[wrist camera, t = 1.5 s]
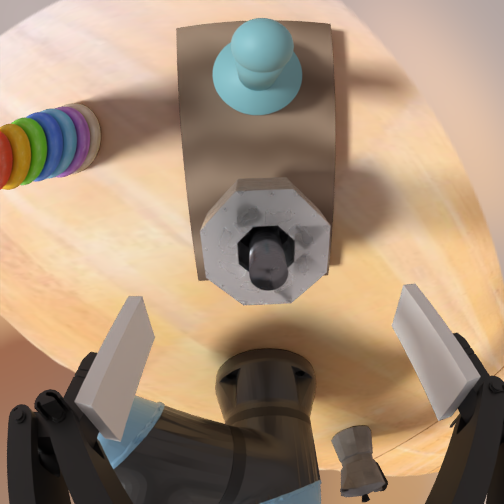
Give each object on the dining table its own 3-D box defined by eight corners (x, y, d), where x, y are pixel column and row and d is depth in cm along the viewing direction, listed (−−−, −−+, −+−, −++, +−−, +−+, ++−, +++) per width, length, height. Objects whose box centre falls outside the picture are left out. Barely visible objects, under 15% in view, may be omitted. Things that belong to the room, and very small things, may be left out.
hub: (297, 115, 23) (345, 112, 11) (218, 117, 23) (186, 115, 11) (294, 43, 20) (335, -18, 8) (215, 46, 20) (183, -16, 8)
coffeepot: (316, 440, 52) (326, 510, 36) (346, 421, 48) (363, 496, 32) (360, 446, 56) (373, 505, 40) (388, 428, 52) (407, 490, 36)
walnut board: (324, 266, 32) (328, 275, 31) (201, 271, 33) (198, 280, 31) (325, 29, 21) (330, 24, 19) (181, 33, 21) (176, 28, 19)
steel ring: (314, 275, 26) (323, 301, 22) (215, 279, 26) (209, 306, 22) (319, 176, 22) (332, 188, 18) (204, 180, 22) (195, 193, 18)
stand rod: (290, 241, 29) (310, 308, 19) (234, 243, 29) (227, 311, 19) (291, 186, 26) (316, 230, 16) (230, 188, 26) (219, 233, 16)
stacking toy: (80, 88, 23) (-59, 94, 6) (116, 140, 26) (-22, 187, 9) (40, 137, 25) (-86, 180, 8) (72, 185, 28) (-48, 261, 11)
